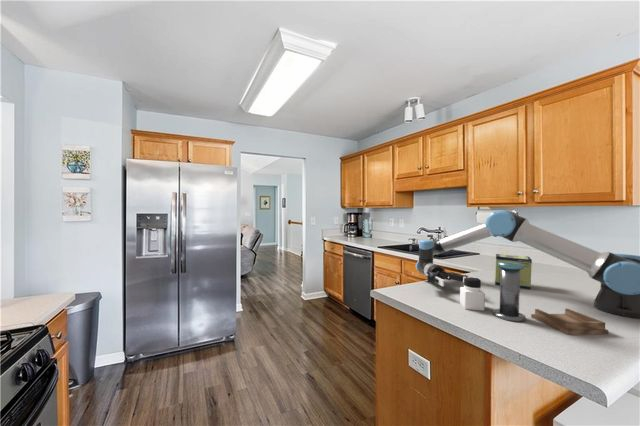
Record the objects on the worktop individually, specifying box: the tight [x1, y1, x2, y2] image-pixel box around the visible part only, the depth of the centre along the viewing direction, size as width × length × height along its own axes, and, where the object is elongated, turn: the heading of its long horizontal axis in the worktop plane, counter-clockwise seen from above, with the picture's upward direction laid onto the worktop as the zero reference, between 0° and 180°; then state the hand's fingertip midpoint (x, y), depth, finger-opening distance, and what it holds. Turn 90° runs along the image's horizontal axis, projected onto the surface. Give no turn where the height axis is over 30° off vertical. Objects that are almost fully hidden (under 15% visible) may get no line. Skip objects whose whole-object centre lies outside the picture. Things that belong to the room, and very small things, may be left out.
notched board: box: [530, 308, 609, 336], centre depth 95 cm, size 14×14×4 cm
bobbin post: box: [492, 261, 526, 323], centre depth 101 cm, size 10×10×20 cm
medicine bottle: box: [459, 276, 486, 312], centre depth 111 cm, size 7×7×12 cm
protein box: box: [494, 253, 533, 290], centre depth 146 cm, size 10×16×16 cm
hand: (458, 283), depth 121 cm, fingers open, 13 cm apart
